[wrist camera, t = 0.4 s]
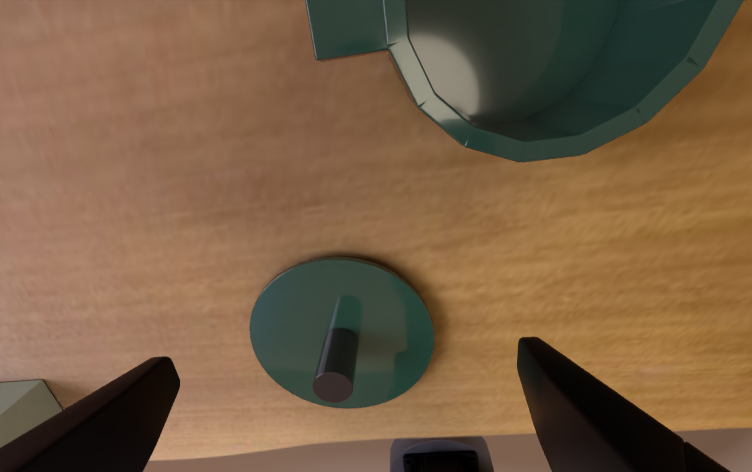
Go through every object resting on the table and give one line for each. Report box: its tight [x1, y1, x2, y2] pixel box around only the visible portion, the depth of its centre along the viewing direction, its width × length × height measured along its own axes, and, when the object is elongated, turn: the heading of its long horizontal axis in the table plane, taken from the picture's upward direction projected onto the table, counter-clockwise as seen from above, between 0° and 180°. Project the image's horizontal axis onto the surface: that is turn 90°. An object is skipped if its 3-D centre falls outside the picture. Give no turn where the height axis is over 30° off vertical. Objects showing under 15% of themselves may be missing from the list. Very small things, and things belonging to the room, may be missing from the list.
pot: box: [305, 0, 743, 162], centre depth 14 cm, size 12×17×6 cm
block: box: [0, 380, 63, 448], centre depth 27 cm, size 4×4×4 cm
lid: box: [250, 256, 434, 408], centre depth 23 cm, size 13×13×5 cm
